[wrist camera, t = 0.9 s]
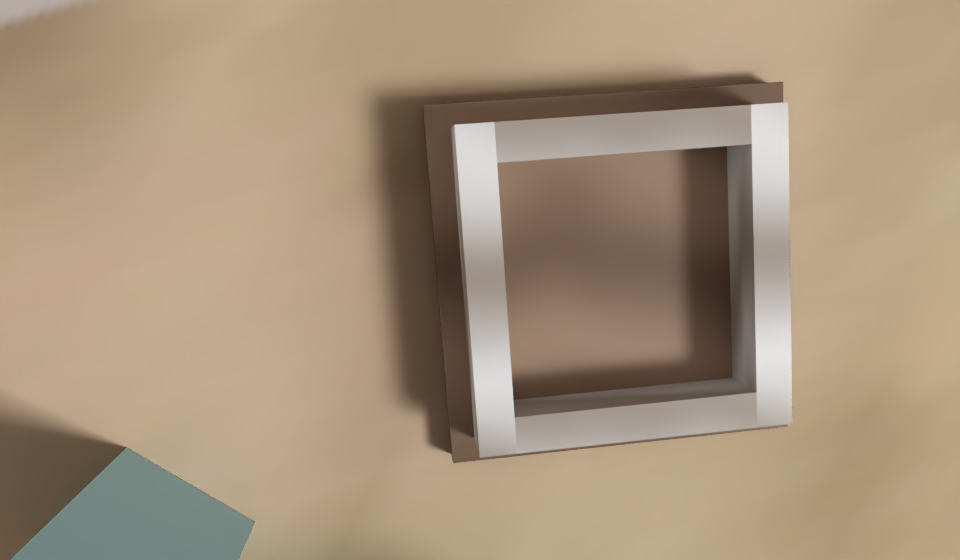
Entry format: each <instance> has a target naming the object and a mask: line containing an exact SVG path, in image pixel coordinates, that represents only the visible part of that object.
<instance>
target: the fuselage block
mask: <svg viewBox="0 0 960 560" xmlns="http://www.w3.org/2000/svg"><path fill="white" fill-rule="evenodd" d="M254 523H255V522H254V521H252V520H251V519H249V518H247V517H245V516H244V515H242V514H240V513H239V512H237V511H235V510H233V509H232V508H230V507H228V506H226V505H225V504H223V503H221V502H220V501H218V500H216V499H214V498H213V497H211V496H209V495H208V494H206V493H204V492H202V491H201V490H199V489H197V488H195V487H194V486H192V485H190V484H189V483H187V482H185V481H183V480H182V479H180V478H178V477H176V476H175V475H173V474H171V473H170V472H168V471H166V470H164V469H163V468H161V467H159V466H158V465H156V464H154V463H152V462H151V461H149V460H147V459H145V458H144V457H142V456H140V455H139V454H137V453H135V452H133V451H132V450H130V449H128V448H126V449H124V450H123V451H122V452H121V453H120V454H119V455H118V456H117V457H116V458H115V459H114V460H113V461H112V462H111V463H110V464H109V465H108V466H107V467H106V468H105V469H104V470H103V471H102V472H101V473H100V474H99V475H97V476H96V477H95V478H94V479H93V480H92V481H91V482H90V483H89V484H88V485H87V486H86V487H85V488H84V489H83V490H82V491H81V492H80V493H79V494H78V495H77V496H76V497H75V498H74V499H73V500H72V501H70V502H69V503H68V504H67V505H66V506H65V507H64V508H63V509H62V510H61V511H60V512H59V513H58V514H57V515H56V516H55V517H54V518H53V519H52V520H51V521H50V522H49V523H48V524H47V525H46V526H45V527H43V528H42V529H41V530H40V531H39V532H38V533H37V534H36V535H35V536H34V537H33V538H32V539H31V540H30V541H29V542H28V543H27V544H26V545H25V546H24V547H23V548H22V549H21V550H20V551H19V552H18V553H16V554H15V555H14V556H13V557H12V558H11V559H10V560H238V559H239V557H240V555H241V552H242V550H243V548H244V546H245V543H246V541H247V539H248V536H249V534H250V532H251V530H252V527H253V525H254Z"/></svg>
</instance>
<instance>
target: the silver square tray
mask: <svg viewBox="0 0 960 560" xmlns="http://www.w3.org/2000/svg"><path fill="white" fill-rule="evenodd" d="M423 113H424V125H425V137H426V149H427V162H428V174H429V186H430V198H431V210H432V223H433V235H434V247H435V259H436V271H437V283H438V296H439V308H440V320H441V332H442V344H443V356H444V369H445V381H446V393H447V405H448V417H449V430H450V442H451V454H452V460H453V463H457V462H466V461H476V460H485V459H494V458H503V457H512V456H521V455H531V454H540V453H549V452H558V451H567V450H576V449H586V448H595V447H604V446H613V445H622V444H631V443H641V442H650V441H659V440H668V439H677V438H686V437H696V436H705V435H714V434H723V433H732V432H741V431H751V430H760V429H769V428H778V427H787V426H788V424H792V371H791V292H790V214H789V135H788V102H784V103H783V82H771V83H756V84H740V85H725V86H709V87H694V88H679V89H663V90H648V91H632V92H617V93H601V94H586V95H571V96H555V97H540V98H524V99H509V100H493V101H478V102H462V103H447V104H432V105H424V106H423Z"/></svg>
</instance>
